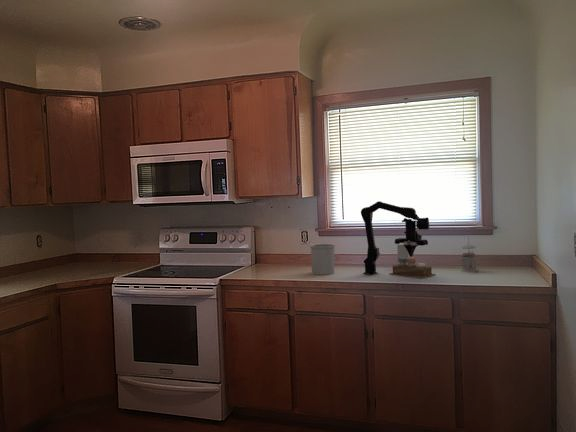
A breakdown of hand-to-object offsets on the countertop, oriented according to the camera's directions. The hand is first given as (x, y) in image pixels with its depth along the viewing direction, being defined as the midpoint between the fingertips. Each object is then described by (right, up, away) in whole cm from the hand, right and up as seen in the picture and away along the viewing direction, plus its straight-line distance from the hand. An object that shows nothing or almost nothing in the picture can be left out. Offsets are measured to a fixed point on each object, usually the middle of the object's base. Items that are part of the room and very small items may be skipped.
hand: (411, 256), depth 278 cm
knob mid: (0, -6, 0) cm, 7 cm away
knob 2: (+5, -9, -4) cm, 11 cm away
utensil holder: (-49, -12, +18) cm, 54 cm away
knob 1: (-4, -6, +5) cm, 9 cm away
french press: (+36, -9, +7) cm, 38 cm away
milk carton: (+3, -9, +24) cm, 26 cm away
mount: (+1, -10, +1) cm, 11 cm away
